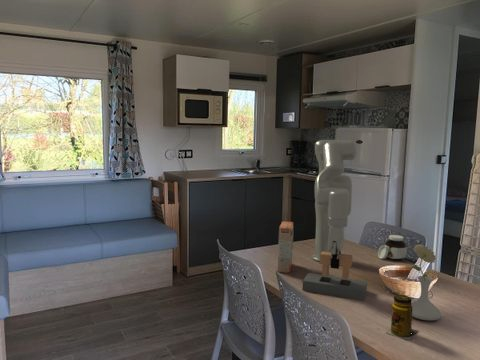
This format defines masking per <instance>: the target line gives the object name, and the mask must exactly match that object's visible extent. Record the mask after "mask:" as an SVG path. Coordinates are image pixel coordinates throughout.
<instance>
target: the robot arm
mask: <svg viewBox="0 0 480 360" xmlns="http://www.w3.org/2000/svg"><path fill="white" fill-rule="evenodd" d="M314 153H315V157H316V159H317V160H316V161H317V162H318V175H317V176H316V178H315V181H314V199H315V202H314V208H315V209H314V210H315V241H314V242H315V245H314V247H315V249H314V253H313V254H312V255H311V259H312V260H314V261H317V262H320V254H321V253H322V251H323V252H331V265H330V268H331V269H336V270H339V269H340V266H339V254H342V249H343V248H344V242H345V241H344V240H345V228H347V227H348V218H349V217H348V216H350V215H351V211H352V196H353V195H352V193H353V192H352V191H353V184H352V183H353V182H352V179H351V177H350V176H349V175H345V174H343V173H344V171H345V165H344V161H353V160H355V158H356V156H357V146H356V144H355V142H354V141H352V140H348V139H320V140H317V141H316V142H315V143H314ZM336 253H337V254H336Z"/></svg>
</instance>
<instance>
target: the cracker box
mask: <svg viewBox="0 0 480 360" xmlns="http://www.w3.org/2000/svg"><path fill="white" fill-rule="evenodd" d="M293 246H294V222H293V221H281V224H280V225H279V229H278V251H277V273H283V274H285V273H286V274H290V272H291V270H292V269H291V268H292V265H293V249H294V247H293Z"/></svg>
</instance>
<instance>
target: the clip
mask: <svg viewBox="0 0 480 360" xmlns="http://www.w3.org/2000/svg"><path fill="white" fill-rule="evenodd" d="M336 254H337V253H336ZM319 264H320V265H322V268H321V270H322V271H321V275H322V276H325V277H327V276H329V274H330V266H331V252H323V251H322V253H321V254H320V261H319ZM352 266H353V254H346V253H341V254H339V268H340V267H341V268H342V275H341V278H342V279H345V280H348V279H349V278H350V269H351V268H352Z"/></svg>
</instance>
